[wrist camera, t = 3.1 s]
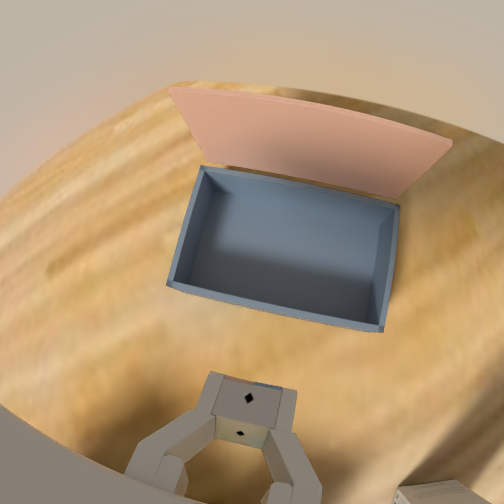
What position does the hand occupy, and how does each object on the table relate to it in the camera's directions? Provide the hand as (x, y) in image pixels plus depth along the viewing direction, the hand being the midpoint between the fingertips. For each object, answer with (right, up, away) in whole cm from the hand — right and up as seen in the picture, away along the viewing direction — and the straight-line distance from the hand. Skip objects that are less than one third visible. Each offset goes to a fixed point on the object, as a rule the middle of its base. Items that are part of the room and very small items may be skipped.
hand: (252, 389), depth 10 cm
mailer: (+3, +4, +21) cm, 21 cm away
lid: (+4, +12, +11) cm, 17 cm away
